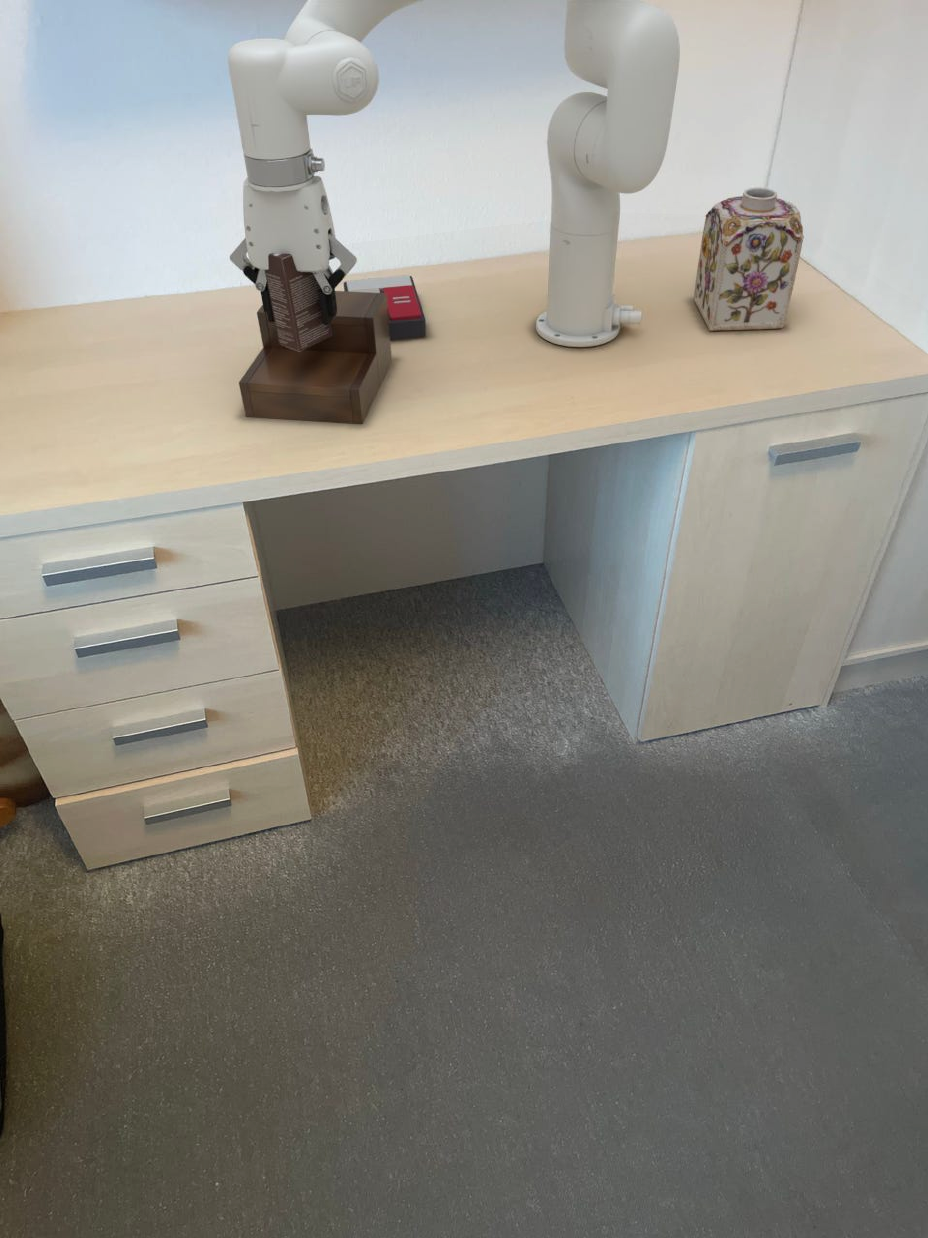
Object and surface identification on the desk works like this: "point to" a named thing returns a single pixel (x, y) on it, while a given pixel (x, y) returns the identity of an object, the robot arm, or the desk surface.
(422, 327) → the calculator
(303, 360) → the step shelf
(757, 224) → the decorative jar
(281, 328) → the box
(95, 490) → the desk surface
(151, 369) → the desk surface
